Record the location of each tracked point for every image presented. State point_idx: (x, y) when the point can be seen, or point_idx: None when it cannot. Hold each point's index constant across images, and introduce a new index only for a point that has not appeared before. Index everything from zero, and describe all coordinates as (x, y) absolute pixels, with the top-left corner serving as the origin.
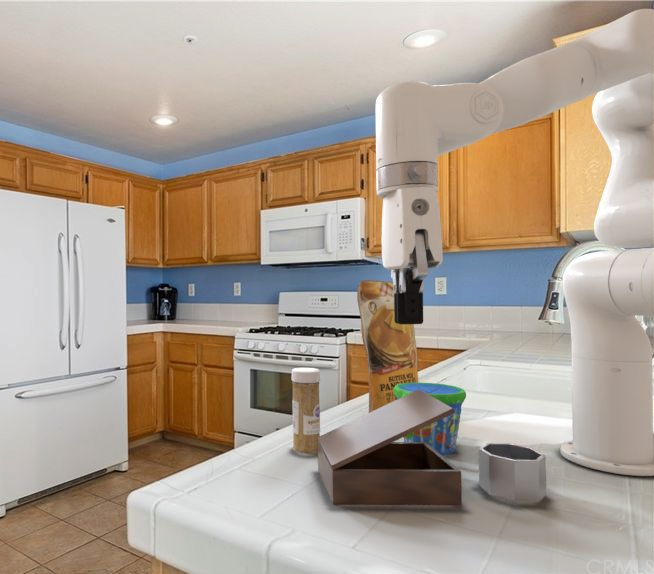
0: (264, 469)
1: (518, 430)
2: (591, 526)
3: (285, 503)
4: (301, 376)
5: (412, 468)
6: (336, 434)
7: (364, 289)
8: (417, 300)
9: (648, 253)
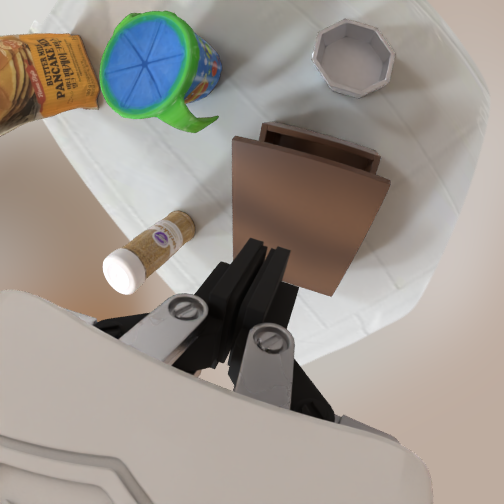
0: None
1: None
2: (433, 57)
3: (309, 301)
4: (138, 287)
5: (272, 142)
6: None
7: None
8: (287, 323)
9: None
